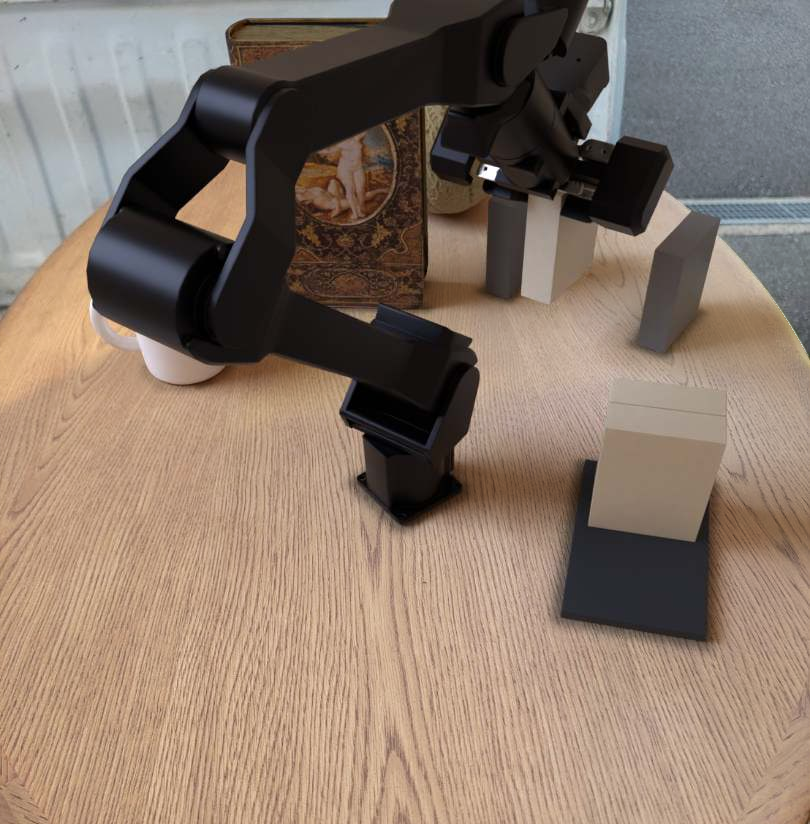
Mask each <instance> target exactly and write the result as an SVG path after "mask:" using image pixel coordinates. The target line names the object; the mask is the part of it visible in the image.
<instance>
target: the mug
mask: <svg viewBox="0 0 810 824" xmlns="http://www.w3.org/2000/svg"><path fill="white" fill-rule="evenodd" d="M92 301H93V300H92V298H91V300H90V303H89V318H90V322H91V325H92V327H93V329H94V330H95V332H96V333H97V335H98V336H99V338H101V339H102V341H104V342H105V343H106V344H107V345H109V346H111V347H113V348H114V349H116V350H120V351H123V352H128V353H141V354H142V357H143V360H144V363H145V365H146V367H147V369H148V371H149V373H151V375H152V376H153V377H155V378H156V379H157V380H159V381H162V382H163V383H167V384H172V385H180V386H182V385H184V386H185V385H194V384H198V383H202V382H204V381H207V380H209V379H211V378H213V377H215V376H216V375H218V374H219V373H220V372H221V371H223V369H225V367H226V366H212V365H206V364H203V363H201V362H199V361H197V360H195V359H193V358H190V357H188V356H186V355H184V354H182V353H180V352H178V351H175V350H173V349H171V348H169V347H167V346H165V345H162V344H160V343H158V342H156V341H154V340H152V339H150V338H147V337H145V336H143V335H141V334H139V333H137V332H135V331H134V333H135V336H125V335H122V334H119V333H117V332H116V331H115V330H113V328H112V327H111V326H110V324H109V322H108V319H107V318H105V317H103V316H101V315H100V314H99V313H98V312H97V311H96V310H95V309H94V308H93V306H92Z"/></svg>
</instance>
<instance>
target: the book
mask: <svg viewBox="0 0 810 824" xmlns="http://www.w3.org/2000/svg"><path fill="white" fill-rule="evenodd" d="M386 18H387V17H247V18H244V19H240V20H238V21H235V22H234V23H232V24H231V25H229V26H228V27H227V29H226V30H225V32H224V36H225V42H226V49H227V53H228V60H229V64H230V66H242V65H245V64H249V63H252V62H255V61H259V60H262V59H265V58H268V57H272V56H275V55H278V54H281V53H285V52H288V51H291V50H295V49H298V48H301V47H304V46H308V45H311V44H314V43H317V42H321V41H324V40H327V39H330V38H334V37H337V36H340V35H344V34H347V33H350V32H353V31H357V30H360V29H363V28H366V27H370V26H373V25H376V24H378V23H380V22H381V21H383V20H384V19H386ZM295 208H296V251H295V255H294V258H293V260H292V262H291V264H290V266H289V269H288V271H287V273H286V275H285V277H286V279H287V282H288V285H289V288H290V289H291V290H292V291H293V292H295V293H297V294H299V295H302V296H304V297H307V298H309V299H311V300H314V301H316V302H319V303H321V304H323V305H326V306H328V307H331V308H356V309H378V306H379V303H380V302H382V303H384V304H387V305H390V306H392V307H395V308H397V309H418V308H419V307H420V306H422V304H423V302H424V301H423V300H424V296H425V279H426V277H427V276H428V275H427V274H428V268H429V223H428V211H427V174H426V132H425V107H423V108H420V109H418V110H415V111H413V112H411V113H408V114H406V115H404V116H401V117H399V118H397V119H394V120H392V121H390V122H387V123H385V124H383V125H380V126H378V127H375V128H373V129H371V130H368V131H366V132H364V133H361V134H359V135H357V136H354V137H352V138H350V139H347V140H345V141H343V142H340V143H338V144H336V145H333V146H331V147H328V148H326V149H324V150H321V151H319V152H317V153H314V154H312V155H310V156H309V157H308V159H307V161H306V163H305V165H304V168H303V170H302V172H301V174H300V176H299V178H298V181H297V183H296V186H295Z"/></svg>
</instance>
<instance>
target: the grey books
mask: <svg viewBox="0 0 810 824" xmlns="http://www.w3.org/2000/svg"><path fill="white" fill-rule="evenodd" d="M527 209H528V203H526V202H516V201H510V200H506V199H503V198H500V197H496V196H493V195H492V196H491V197H490V198H488V202H487V229H486V255H485V256H486V257H485V282H484V292H485V293H487V294H491V295H494V296H497V297H500V298H502V299H506V300H509V299H510V298H511V297H513V295H515V293H517V292H518V291H519V290H521V287H522V274H523V261H524V248H525V235H526V222H527ZM721 221H722V218H720V217H717V216H714V215H710V214H706V213H704V212H698V211H695V210H691V211H690V212H689V213H688V214H687V215H686V216H685V217H684V218H683V219H682V220H681V221H680V222H679V224H677V225H676V226H675V227H674V229H672V231H671V232H670V233H669V234H668V235H667V236H666V237H665V238H664V239H663V240H662V241H661V243H659V244H658V246H657V247H656V248H655V249H654V251H653V257H652V262H651V266H650V272H649V277H648V282H647V288H646V291H645V292H646V293H645V299H644V303H643V307H642V313H641V319H640V323H639V329H638V333H637V337H636V338H637V339H636V344H635V345H637V346H639V347H642V348H645V349H647V350H648V349H649V350H651V351H653V352H656V353H659V354H661V355H664V354H665V353H666V352H667V351H668V349H669V348H670V347H671V345H672V344H673V343H674V342H675V341H676V339H677V338H678V337H679V336H680V335H681V334H682V332H683V331H684V330H685V329H686V327H687V326H688V325H689V324H690V322H692V320H693V319H694V318H695V316H696V315H697V314H698V312H699V308H700V304H701V300H702V296H703V292H704V288H705V284H706V281H707V276H708V272H709V268H710V264H711V260H712V256H713V252H714V248H715V244H716V240H717V236H718V232H719V228H720V224H721Z"/></svg>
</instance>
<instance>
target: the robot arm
mask: <svg viewBox="0 0 810 824" xmlns="http://www.w3.org/2000/svg"><path fill="white" fill-rule="evenodd" d="M589 1H590V0H393V1H392V2H391V3H390V5H389V9H388V13H387V16H386V17H385V18H386V19H384V20H383V21H381V22H380V23H378V24H376V25H373V26H370V27H366V28H363V29H360V30H357V31H353V32H350V33H347V34H344V35H340V36H337V37H334V38H330V39H327V40H324V41H321V42H317V43H314V44H311V45H308V46H304V47H301V48H298V49H295V50H291V51H288V52H285V53H281V54H278V55H275V56H272V57H268V58H265V59H262V60H259V61H255V62H252V63H249V64H245V65H242V66H230V65H229V64H225V65H220V66H218V67H216V68H210V69H208V70H206V71H205V72H203V73H202V74H200V75H199V76H198V78H197V80H196V81H195V82H194V84H193V86H192V88H191V90H190V92H189V95H188V96H187V99H186V100H185V103H184V105H183V108H182V110H181V112H180V113H179V117H178V119H177V120H176V122H175V123H174V124H173V125H172V126H171V127H170V128H169V129H168V130H167V131H165V133H164V134H162V135H161V136H160V137H159V138H158V139H157V140H156V141H155V142H154V143H153V144H152V145H151V146H149V148H148V149H147V150H146V151H145V152H144V153H143V154H142V155H141V156H139V158H137V160H136V161H135V162H133V163H132V164H131V166H130V167H128V169H127V170H126V172H125V173H124V174H123V176H122V178H121V181H120V183H119V185H118V187H117V190H116V192H115V194H114V196H113V199H112V200H111V203H110V205H109V207H108V209H107V211H106V213H105V216H104V219H103V221H102V223H101V225H100V228H99V229H98V232H97V233H96V235H95V237H94V240H93V242H92V244H91V246H90V249H89V251H88V257H87V262H86V271H85V272H86V273H85V275H86V283H87V291H88V293H89V295H90V298H91V299H92V300H93V301H92V306H93V308H94V309H95V310H96V311H97V312H98V313H99V314H100V315H101V316H103V317H105V318H106V320H109V321H111V322H113V323H115V324H117V325H119V326H121V327H123V328H125V329H127V330H131V331H132V332H134V333H135V332H137V333H139V334H141V335H143V336H145V337H147V338H150V339H152V340H154V341H156V342H158V343H160V344H162V345H165V346H167V347H169V348H171V349H173V350H175V351H178V352H180V353H182V354H184V355H186V356H188V357H190V358H193V359H195V360H197V361H199V362H201V363H203V364H206V365H212V366H225V367H226V366H229V367H231V366H239V367H240V366H255V365H257V364H259V363H261V362H262V361H263V360H264V359H265V358H266V357H268V356H270V357H271V356H273V357H277V358H280V359H282V360H287V361H290V362H294V363H297V364H301V365H304V366H307V367H311V368H314V369H317V370H320V371H321V370H322V371H325V372H327V373H332V374H335V375H338V376H342V377H345V378H349V379H351V381H350V382H349V383H350V384H349V386H348V388H347V390H346V393H345V396H344V398H343V401H342V403H341V406H340V408H339V411H338V412H339V416H340V418H341V420H342V421H343V423H344V425H345V427H347V428H350V429H355V430H357V431H359V432H361V433H363V434H362V444H363V445H362V446H363V456H364V467H365V471H363V472H361V473H360V474H357V476H356V483H357V485H358V486H359V487H360V488H361V489H362V491H364V492H365V493H366V494H367V495H368V496H369V497H370V498H371V499H372V500H374V502H375V503H376V504H377V505H378V506H379V507H380V508H381V509H382V510H383V511H384V512H385V513H386V514H387V515H389V516H390V518H391V519H392V520H393V521H394V522H395V523H396V524H398V525H406V524H408V523H409V522H411V521H413V520H415V519H417V518H418V517H420V516H422V515H424V514H425V513H428V512H429V511H430V510H432V509H434V508H436V507H438V506H439V505H441V504H443V503H445V502H446V501H448V500H451V499H452V498H454V497H455V496H457V495H459V494H460V493H462V492H463V487H464V486H463V484H462V482H461V481H460V480H459V479H458V478H456V477H455V476H454V475H453V474H452V472H454V469H455V448H456V446H457V445H458V444H459V443H460V442H461V441H462V440H463V439H464V438H465V437H466V436H467V435H468V433H469V431H470V426H471V422H472V417H473V413H474V410H475V409H474V408H475V405H476V401H477V395H478V391H479V387H480V381H481V374H480V369H479V368H478V367H476V365H477V363H478V362H479V359H478V356H477V354H476V352H475V351H474V350H473V348H471V347H470V346H471V345H472V343H473V341H474V340H473V339H474V338H473V337H470V336H468V335H464V334H462V333H459V332H457V331H454V330H452V329H451V328H449V327H447V326H445V325H443V324H440V323H437V322H434V321H431V320H430V319H426V318H424V317H421V316H419V315H416V314H413V313H411V312H408V311H406V310H403V309H401V308H395V307H392V306H390V305H387V304H384V303H382V302H380V303H379V306H378V308H377V311H376V313H375V317H374V318H373V319H371V321H370V322H367V321H365V320H362V319H360V318H357V317H354V316H352V315H349V314H348V313H345V312H342V311H340V310H338V309H335V308H334V307H328V306H326V305H323V304H321V303H319V302H316V301H314V300H311V299H309V298H307V297H304V296H302V295H299V294H297V293H295V292H293V291H292V290H291V289H290V288H289V285H288V282H287V279H286V277H285V275H286V273H287V271H288V269H289V266H290V264H291V262H292V260H293V258H294V255H295V251H296V208H295V186H296V183H297V181H298V178H299V176H300V174H301V172H302V170H303V168H304V165H305V163H306V161H307V159H308V157H309V156H310V155H312V154H314V153H317V152H319V151H321V150H324V149H326V148H328V147H331V146H333V145H336V144H338V143H340V142H343V141H345V140H347V139H350V138H352V137H354V136H357V135H359V134H361V133H364V132H366V131H368V130H371V129H373V128H375V127H378V126H380V125H383V124H385V123H387V122H390V121H392V120H394V119H397V118H399V117H401V116H404V115H406V114H408V113H411V112H413V111H415V110H418V109H420V108H423V107H425V106H433V105H444V106H448V108H447V111H446V113H445V116H444V118H443V121H442V123H441V126H440V128H439V131H438V133H437V135H436V138H435V140H434V143H433V145H432V148H431V150H430V166H431V170H432V171H433V172H434V173H435V174H436V175H437V176H438V177H439V178H440V179H442V180H445V181H448V182H452V183H455V184H459V185H462V186H465V187H467V186H470V185H471V183H472V181H473V179H474V178H473V177H472V176H471V175H470V174H469V173H470V171H471V169H472V166H473V164H474V161H475V159H476V158H477V160H478V161H479V162H480V164H479V167H478V169H477V172H476V175H477V176H478V177H479V178H482V179H485V180H484V182H483V185H482V188H483V191H484V192H485V193H486V194H490V195H489V196H492V197H493V196H496V197H500V198H503V199H506V200H510V201H516V202H526V203H528V197H529V194H531V195H534V196H538V197H541V198H545V199H548V200H552V201H553V200H554V198H555V195H556V193H557V191H561V192H564V193H568V195H567V198H566V200H565V202H564V204H563V207H562V209H561V211H560V214H559V215H560V216H564V217H567V218H570V219H574V220H577V221H580V222H584V223H588V224H590V223H593V222H595V223H597V224H598V226H600V227H602V228H604V229H607V230H611V231H613V232H617V233H620V234H624V235H627V236H631V237H634V238H636V237H637V236H640V235H641V234H643V233H645V232H646V230H647V229H648V226H649V224H650V222H651V220H652V217H653V215H654V213H655V211H656V209H657V206H658V204H659V201H660V199H661V197H662V195H663V193H664V191H665V188H666V186H667V183H668V181H669V179H670V177H671V175H672V172H673V171H674V168H675V163H674V160H673V158H672V155H671V153H670V150H669V148H668V146H667V145H665V144H662V143H657V142H654V141H649V140H645V139H641V138H638V137H634V136H629V135H625V134H624V135H623V136H621V137H620V138H619V139H618V140H617V141H615V144H614V143H611V142H607V141H603V140H599V139H596V138H588V135H589V133H590V131H591V129H592V126H593V123H592V121H591V119H590V117H589V115H588V114H589V112H590V111H591V110H592V108H593V106H594V105H595V103H596V102H597V100H598V98H599V97H600V95H601V94H602V92H603V90H604V89H606V88H607V87H608V85H609V83H610V81H611V80H610V79H611V78H610V76H611V75H610V64H609V63H610V62H609V50H608V49H609V48H608V41H607V40H606V39H605V38H604V37H602V36H599V35H593V34H589V33H583V32H579V31H577V30H578V27H579V26H580V23H581V20H582V18H583V16H584V13H585V11H586V8H587V7H588V4H589ZM587 138H588V139H587ZM580 140H581V141H584V142H582V144H579V142H580ZM580 157H581V158H582V160H579V158H580ZM231 161H232V162H236V163H239V164H242V165H245V218H244V220H243V222H242V225H241V227H240V229H239V231H238V234H237V235H236V238H235V240H234V239H231V238H228V237H226V236H223V235H220V234H218V233H216V232H212V231H210V230H207V229H204V228H201V227H200V226H196V225H193V224H191V223H189V222H187V221H183V220H180V219H177V216H178V213H179V212H180V211H181V210H183V208H184V207H185V206H186V205H187V204H188V203H189V202H191V201H192V200H193V198H195V197H196V196H197V195H198V194H200V192H202V190H203V189H204V188H206V187H207V185H209V184H210V183H211V182H212V181H213V180H214V179H215V178H216V177H217V176H219V175H220V174H221V172H223V171H224V170H225V168H227V166H228V165H229V163H230V162H231ZM568 178H569V179H568Z"/></svg>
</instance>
